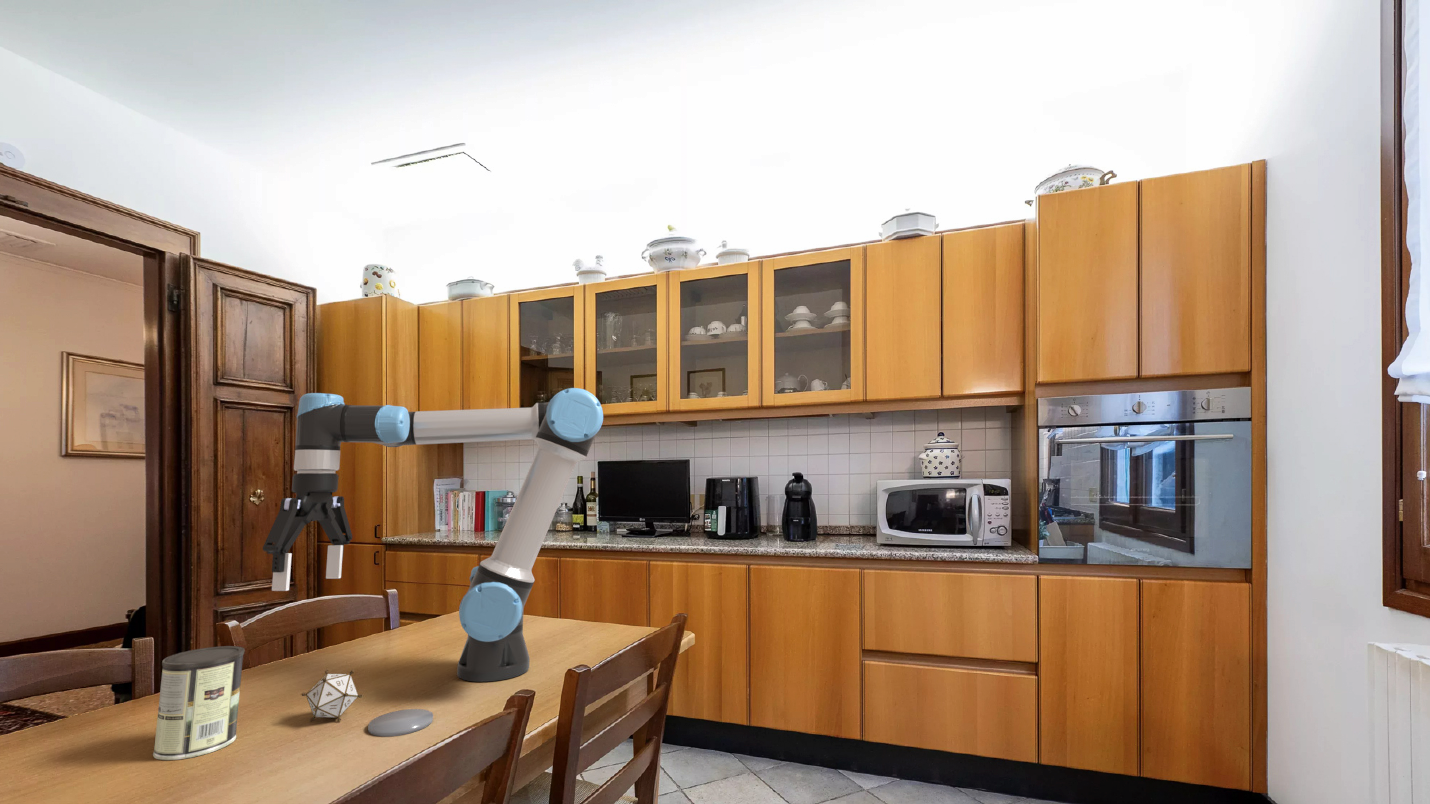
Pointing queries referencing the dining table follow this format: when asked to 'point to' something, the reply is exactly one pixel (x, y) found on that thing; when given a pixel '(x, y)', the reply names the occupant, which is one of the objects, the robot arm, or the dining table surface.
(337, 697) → the game die
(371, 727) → the slate coaster
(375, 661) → the dining table surface
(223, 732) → the coffee can
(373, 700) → the dining table surface
